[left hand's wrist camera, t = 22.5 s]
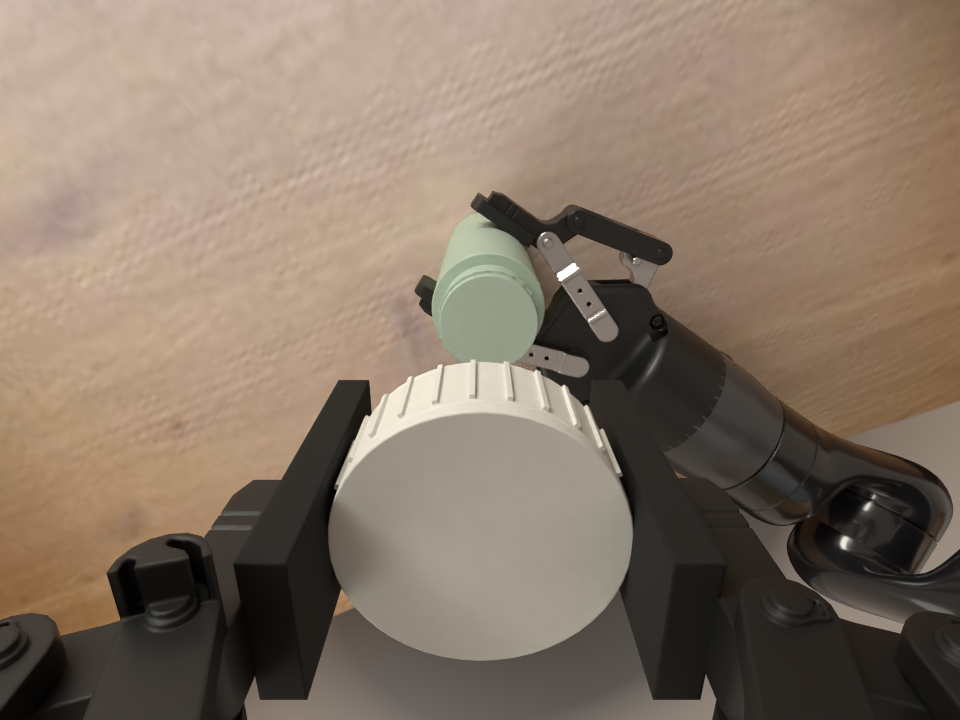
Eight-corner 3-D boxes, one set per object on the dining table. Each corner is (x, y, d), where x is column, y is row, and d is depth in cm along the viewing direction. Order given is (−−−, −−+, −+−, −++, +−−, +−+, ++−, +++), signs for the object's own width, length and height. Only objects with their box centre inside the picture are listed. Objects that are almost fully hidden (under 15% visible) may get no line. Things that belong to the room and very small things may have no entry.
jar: (463, 200, 36) (450, 244, 21) (534, 227, 37) (569, 288, 22) (438, 271, 38) (411, 358, 23) (507, 295, 38) (523, 395, 24)
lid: (405, 313, 11) (387, 354, 9) (660, 418, 12) (699, 479, 10) (315, 533, 13) (283, 610, 11) (540, 610, 14) (551, 696, 12)
